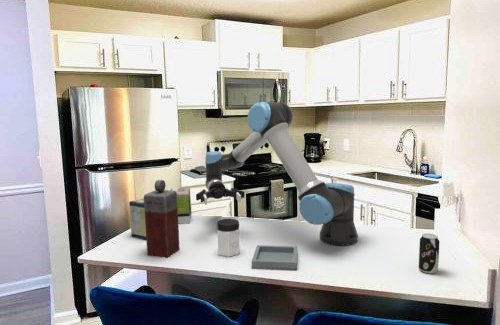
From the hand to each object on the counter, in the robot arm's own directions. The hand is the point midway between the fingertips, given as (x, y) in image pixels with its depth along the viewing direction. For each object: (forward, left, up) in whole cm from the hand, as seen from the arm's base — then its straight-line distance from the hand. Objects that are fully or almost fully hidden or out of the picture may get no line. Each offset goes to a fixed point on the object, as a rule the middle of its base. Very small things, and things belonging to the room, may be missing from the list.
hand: (223, 200), depth 149 cm
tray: (-22, +15, -18) cm, 32 cm away
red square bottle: (+22, +11, -18) cm, 31 cm away
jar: (-4, +9, -18) cm, 21 cm away
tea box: (+28, -31, -18) cm, 45 cm away
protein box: (+34, -10, -18) cm, 40 cm away
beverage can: (-72, +19, -18) cm, 76 cm away
